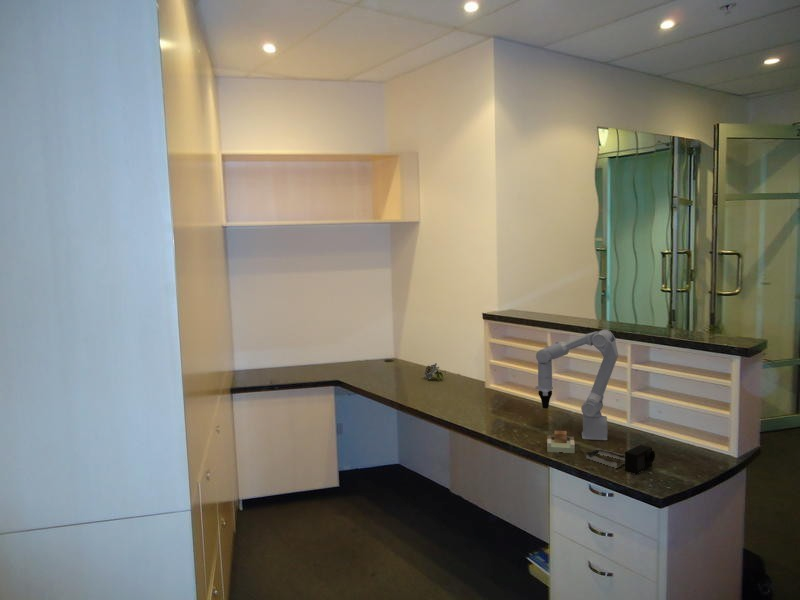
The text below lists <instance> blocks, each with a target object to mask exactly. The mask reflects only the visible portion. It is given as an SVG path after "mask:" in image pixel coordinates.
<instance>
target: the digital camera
mask: <svg viewBox="0 0 800 600" xmlns="http://www.w3.org/2000/svg"><path fill="white" fill-rule="evenodd" d="M624 455H625V461H624V462H625V464H624V471H625V472H627V471H628V472H627V473H630V472H631V474H633V473H635V474H634V475H638V474H640V473H642V472H644V471H646V470H648V469H650V468H651V466H652V467H653V462H654V461H655V458H656V452H655V451H654V450H653V447H651V446H646V445H644V444H640V445H637V446H635V447H633V448H631V449H628V450H626V451H625V452H624ZM645 469H646V470H645ZM643 470H644V471H643ZM641 471H642V472H641ZM639 472H640V473H639ZM637 473H638V474H637Z"/></svg>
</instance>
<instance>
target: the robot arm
mask: <svg viewBox="0 0 800 600" xmlns="http://www.w3.org/2000/svg"><path fill="white" fill-rule="evenodd" d="M585 345H588V346H590V347H591V346H594V347H595V348H596V349H597V350H598V351H599V352H600V354H601V355H602V357H603V359H602V361H601V363H600V366H599V369H598V372H597V375H596V377H595V379H594V383H593V385H592V388H591V390H590V393H589V395H588V397H587V398H586V401H584V402H583V404H582V405H581V410H580V411H581V412H582V413H581V414H582V431H581V437H582V440H593V441H594V440H595V441H608V433H609V432H608V431H609V430H608V417H607V415H602V412H601V411H602V410H603V406H604V404H603V403H604V402H603V401H604V398H605V397H604V394H605V391H606V389H607V385H608V384H609V381H610V378H611V377H612V376H611V375H612V373H613V371H614V368H615V365H616V362H617V360H618V358H619V352H618V347H617V340H616V337H615V336H614V334H613V332H611V331H610V329H605V328H603V329H601V330H599V331H598V330H597V331H593V332H592V331H591V332H589V333H586V334H584V335H581V336H580V337H577V338H574V339H572V340H570V341H567V342H565V341H562V340H561V341H559V340H557V341H555V343H553V344H551V345H546V346H545V347H544V348H541V349H540V350H538V351H537V352H536V354H535V359H536V361H537V370H538V371H537V383H538V384H537V385H536V386H535V389H536V390H538V396H539V398H540V400H541V406H542V409H543V410H544V409H547V410H549V406H550V400H551V398H552V396H553V391H552V390H553V389H554V388H553V366H552V364H553V361H552V360H556V359H558V358H561V357H563V356H566V355H568V354H569V352H570V351H571V350H573V349H576V348H578V347H579V348H580V347H581V346H585Z"/></svg>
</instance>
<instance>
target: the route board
mask: <svg viewBox="0 0 800 600" xmlns="http://www.w3.org/2000/svg"><path fill="white" fill-rule="evenodd" d="M546 442H547V443H546V448H547V449H546V450H547V451H546V452H547V453H559V452H563V454H575V452H576V451H575V450H576V449H575V448H576V447H575V445H576V444H575V437H574V436H568V435H567V443H555V435H548V434H547V439H546Z"/></svg>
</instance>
